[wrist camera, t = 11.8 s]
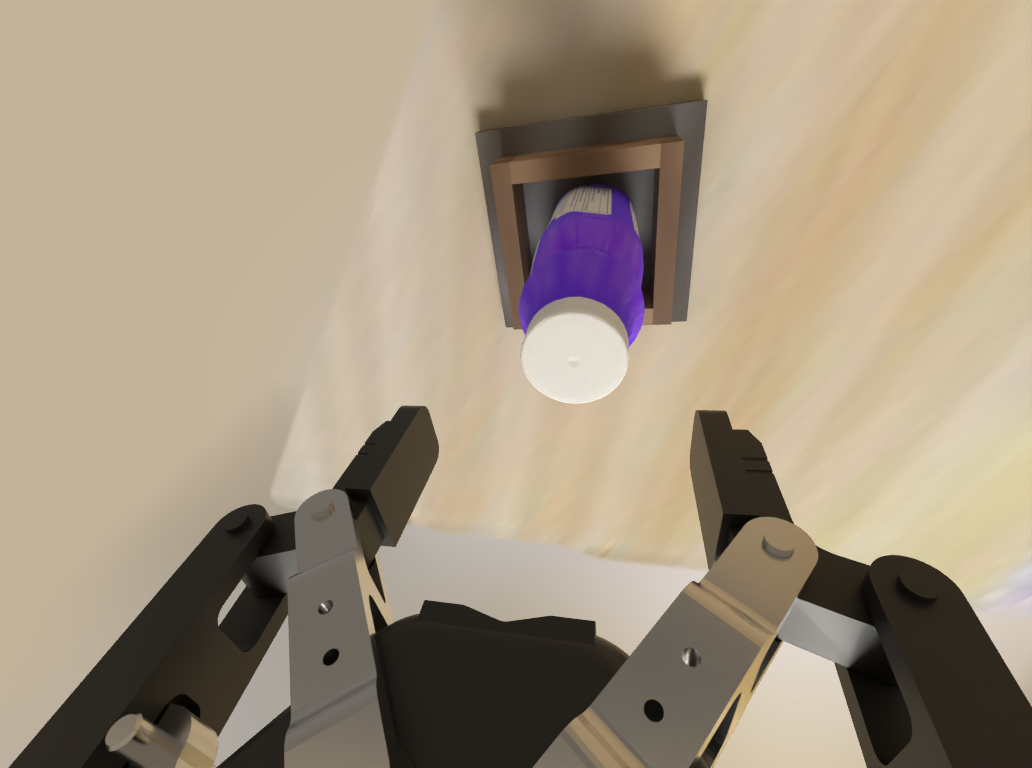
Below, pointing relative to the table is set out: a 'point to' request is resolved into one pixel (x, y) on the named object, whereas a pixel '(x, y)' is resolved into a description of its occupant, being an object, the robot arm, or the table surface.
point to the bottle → (583, 296)
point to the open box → (608, 161)
